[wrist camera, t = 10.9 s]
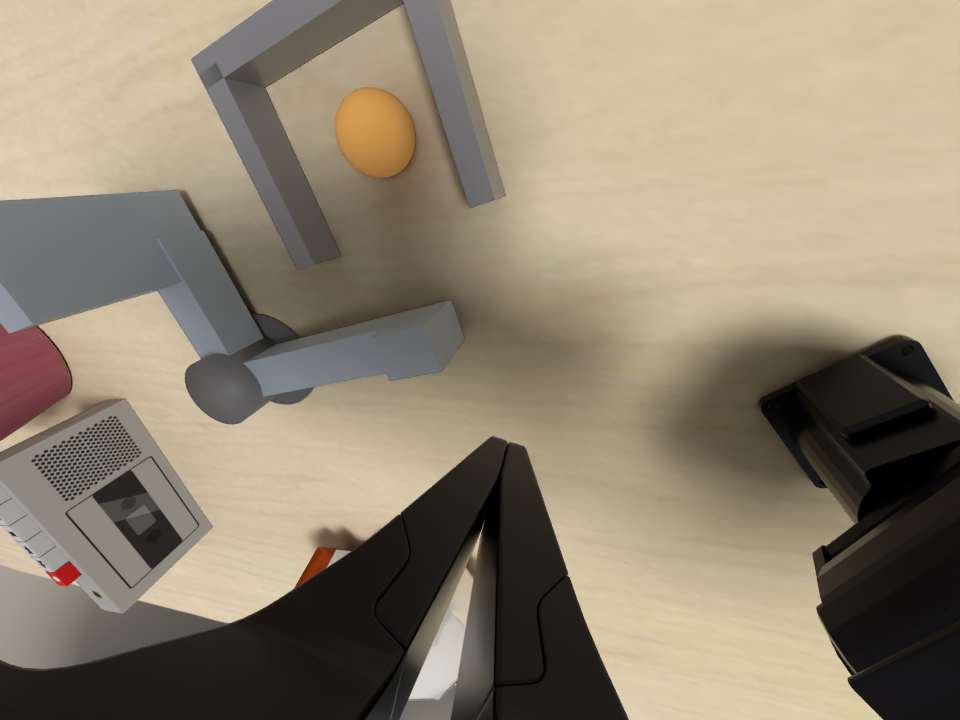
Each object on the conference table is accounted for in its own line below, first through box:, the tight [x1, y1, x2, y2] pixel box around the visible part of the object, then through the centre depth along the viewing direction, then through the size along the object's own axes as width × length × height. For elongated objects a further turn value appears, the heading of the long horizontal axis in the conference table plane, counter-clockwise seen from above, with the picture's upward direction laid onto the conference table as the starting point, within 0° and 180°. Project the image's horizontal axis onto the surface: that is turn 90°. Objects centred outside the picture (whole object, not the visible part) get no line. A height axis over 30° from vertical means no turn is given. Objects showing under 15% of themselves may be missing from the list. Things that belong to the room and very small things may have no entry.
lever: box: [0, 190, 465, 424], centre depth 19 cm, size 17×14×10 cm
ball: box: [335, 87, 416, 178], centre depth 17 cm, size 4×4×4 cm
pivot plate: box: [251, 314, 313, 404], centre depth 27 cm, size 7×7×1 cm
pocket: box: [191, 0, 506, 270], centre depth 18 cm, size 10×11×2 cm
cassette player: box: [0, 399, 213, 613], centre depth 33 cm, size 16×3×10 cm, turn 13°
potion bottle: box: [294, 547, 474, 700], centre depth 30 cm, size 9×10×15 cm
